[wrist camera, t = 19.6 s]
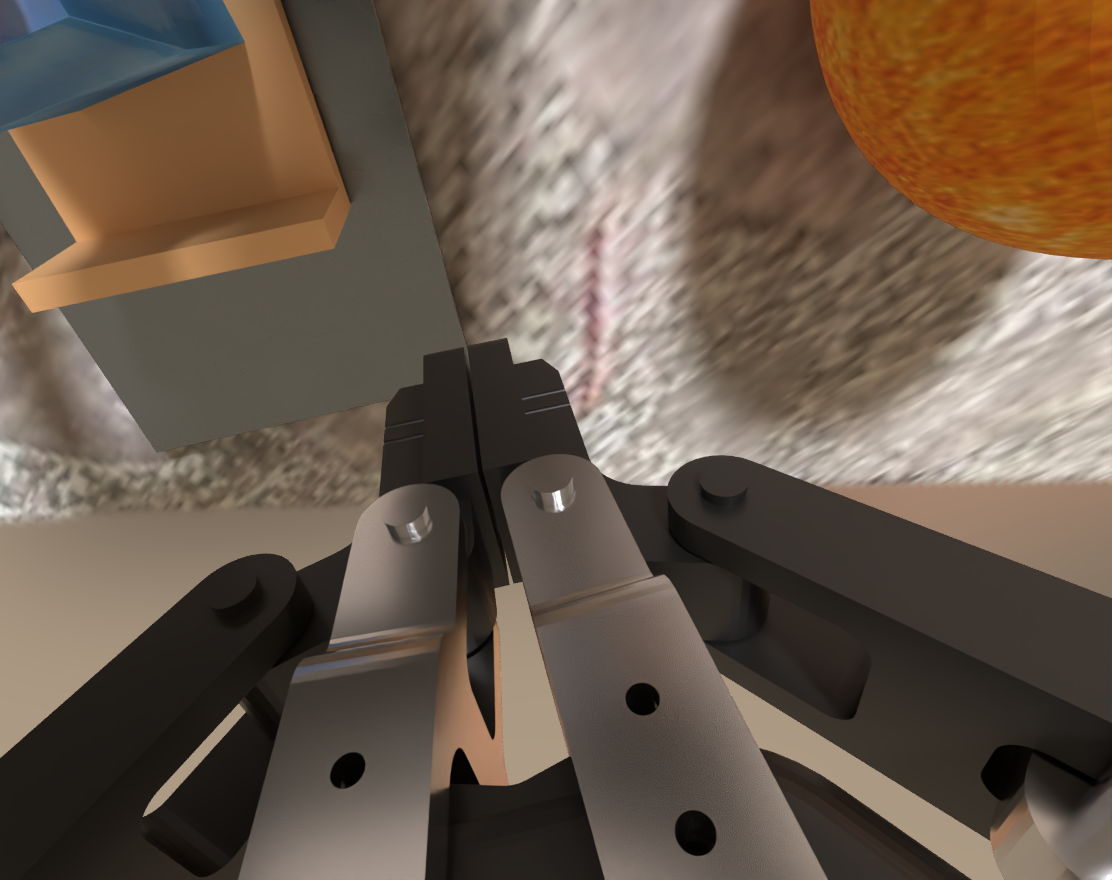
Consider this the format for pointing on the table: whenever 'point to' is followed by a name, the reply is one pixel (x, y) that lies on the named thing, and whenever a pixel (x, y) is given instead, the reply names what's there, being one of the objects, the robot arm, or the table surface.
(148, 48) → the perfume bottle
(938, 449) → the table surface
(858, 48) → the decorative sphere
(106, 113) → the press bed carriage
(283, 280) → the press frame
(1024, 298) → the table surface
